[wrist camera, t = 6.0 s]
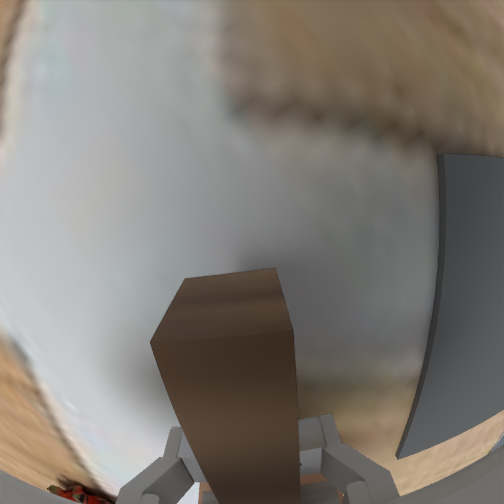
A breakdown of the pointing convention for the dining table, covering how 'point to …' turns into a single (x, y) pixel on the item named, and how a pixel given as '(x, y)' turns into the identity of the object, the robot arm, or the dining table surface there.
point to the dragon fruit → (78, 495)
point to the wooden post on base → (237, 387)
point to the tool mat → (463, 307)
